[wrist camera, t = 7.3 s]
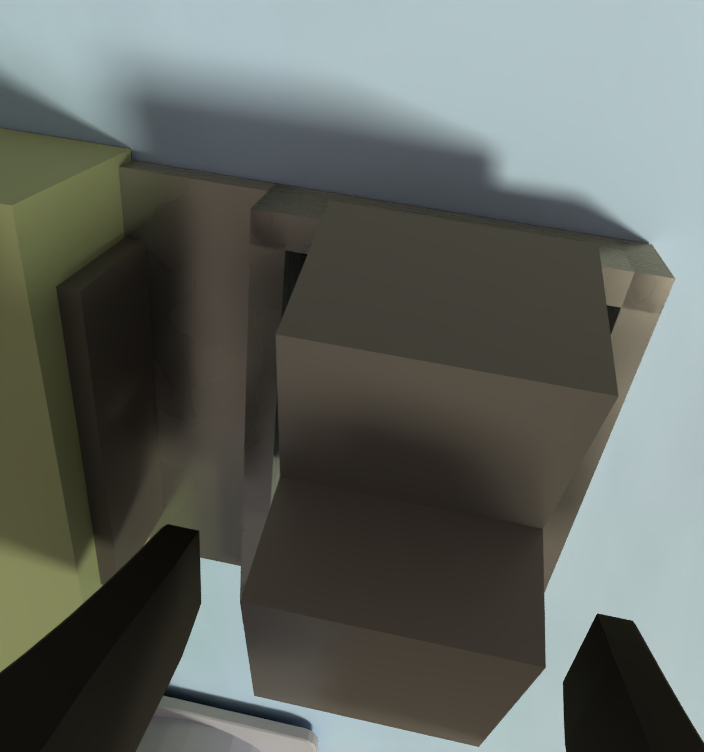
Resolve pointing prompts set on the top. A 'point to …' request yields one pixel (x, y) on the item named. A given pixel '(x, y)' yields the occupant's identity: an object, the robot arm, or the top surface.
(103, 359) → the deck
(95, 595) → the robot arm
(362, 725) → the top surface
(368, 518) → the stepped block
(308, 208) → the grey rectangular frame
